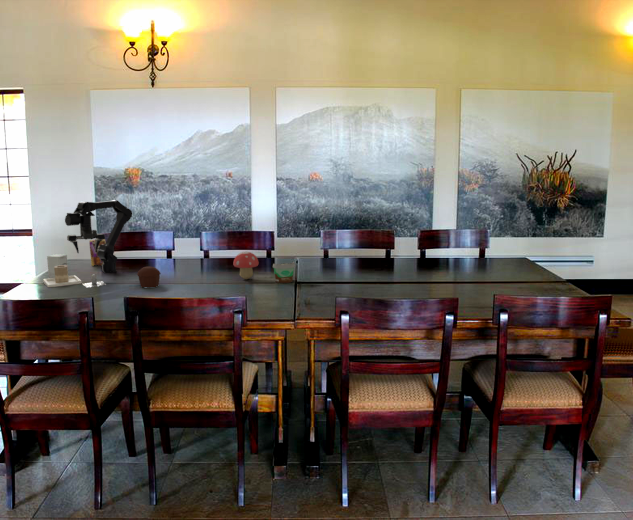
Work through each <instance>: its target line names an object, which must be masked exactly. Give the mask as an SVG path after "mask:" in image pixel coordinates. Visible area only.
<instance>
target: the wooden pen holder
mask: <svg viewBox="0 0 633 520" xmlns="http://www.w3.org/2000/svg"><path fill="white" fill-rule="evenodd" d="M54 270H55V281H56V283H64V282H69V279H68V276H69V268H67V265H59V266H55V267H54Z"/></svg>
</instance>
